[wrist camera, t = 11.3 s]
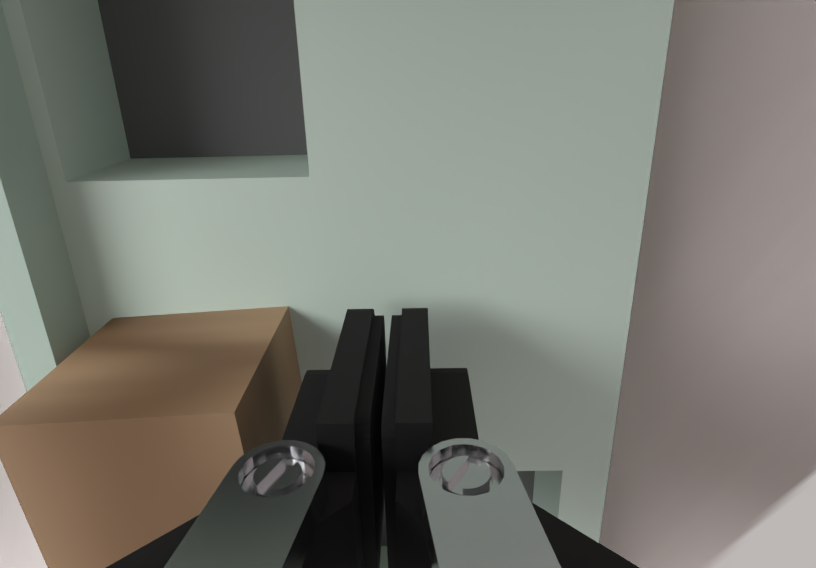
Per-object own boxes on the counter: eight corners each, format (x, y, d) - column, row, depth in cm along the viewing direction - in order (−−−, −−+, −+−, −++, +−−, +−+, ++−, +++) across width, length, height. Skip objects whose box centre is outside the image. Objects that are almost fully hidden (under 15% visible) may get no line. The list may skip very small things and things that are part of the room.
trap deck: (187, 574, 20) (129, 705, 16) (2, -214, 11) (-219, -357, 7) (559, 572, 19) (596, 705, 15) (644, -238, 11) (772, -400, 7)
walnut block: (156, 461, 14) (64, 605, 10) (112, 318, 13) (-14, 427, 9) (313, 452, 14) (276, 595, 10) (288, 306, 12) (234, 412, 9)
